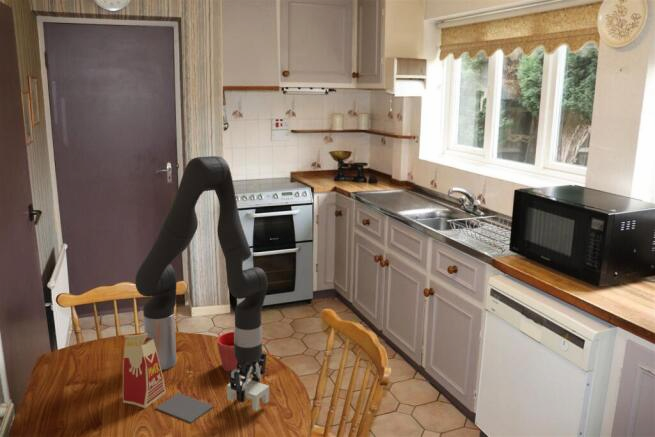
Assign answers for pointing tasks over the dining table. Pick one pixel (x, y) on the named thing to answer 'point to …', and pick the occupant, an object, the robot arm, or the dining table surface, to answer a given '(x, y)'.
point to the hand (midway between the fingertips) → (248, 395)
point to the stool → (251, 392)
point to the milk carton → (141, 372)
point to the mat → (184, 407)
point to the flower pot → (227, 351)
